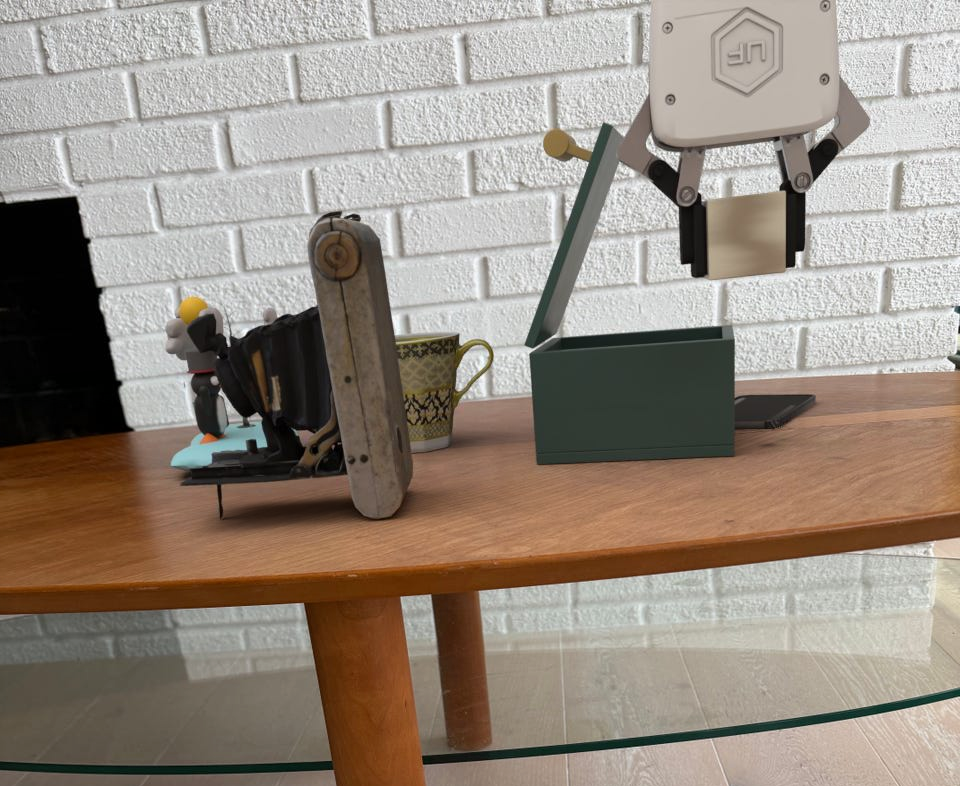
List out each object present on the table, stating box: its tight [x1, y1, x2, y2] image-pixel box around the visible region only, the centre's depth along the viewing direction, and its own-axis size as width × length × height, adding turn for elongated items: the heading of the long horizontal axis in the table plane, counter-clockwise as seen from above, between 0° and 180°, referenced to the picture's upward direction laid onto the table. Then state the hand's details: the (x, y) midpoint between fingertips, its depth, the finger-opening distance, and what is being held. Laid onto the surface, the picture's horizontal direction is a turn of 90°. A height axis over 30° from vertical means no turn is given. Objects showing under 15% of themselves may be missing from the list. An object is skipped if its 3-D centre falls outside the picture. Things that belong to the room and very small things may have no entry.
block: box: [701, 190, 787, 281], centre depth 60 cm, size 4×4×4 cm
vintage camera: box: [179, 210, 414, 521], centre depth 71 cm, size 10×16×20 cm, turn 88°
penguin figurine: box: [164, 296, 298, 472], centre depth 95 cm, size 20×11×15 cm, turn 1°
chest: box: [528, 324, 736, 466], centre depth 85 cm, size 16×13×9 cm
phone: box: [735, 393, 817, 430], centre depth 96 cm, size 8×1×15 cm
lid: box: [524, 122, 625, 349], centre depth 82 cm, size 17×13×5 cm
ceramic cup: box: [395, 331, 495, 454], centre depth 94 cm, size 13×10×10 cm
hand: (741, 268), depth 61 cm, fingers closed on block, 4 cm apart
